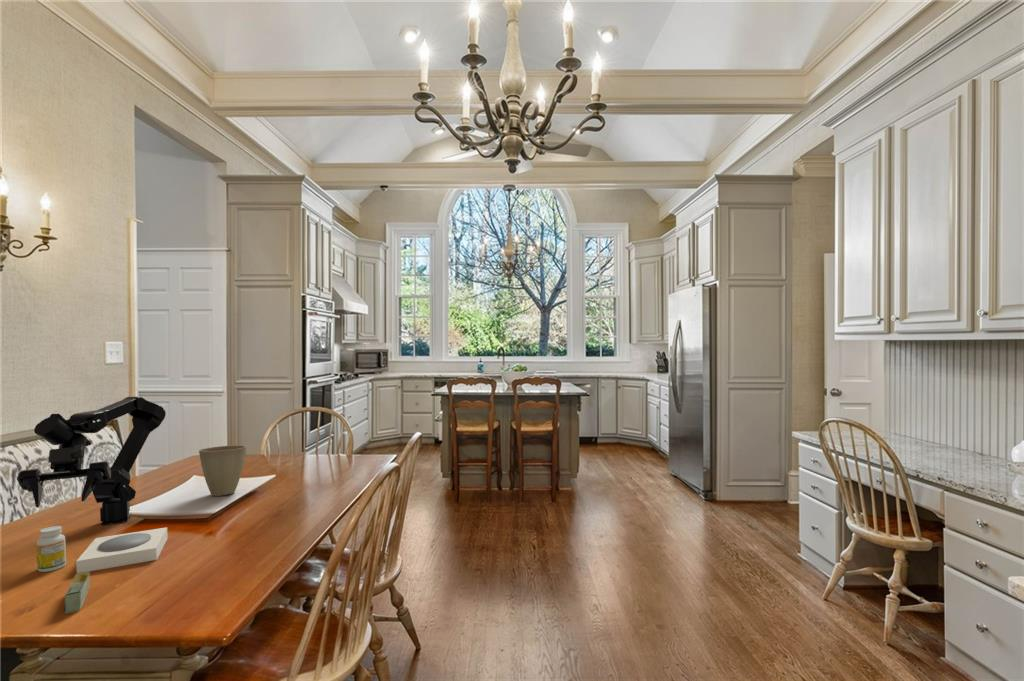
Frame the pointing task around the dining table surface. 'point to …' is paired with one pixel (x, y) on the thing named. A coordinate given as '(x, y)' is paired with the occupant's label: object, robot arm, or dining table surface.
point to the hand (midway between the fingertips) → (60, 503)
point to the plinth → (122, 550)
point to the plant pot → (222, 467)
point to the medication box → (77, 592)
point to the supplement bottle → (51, 549)
